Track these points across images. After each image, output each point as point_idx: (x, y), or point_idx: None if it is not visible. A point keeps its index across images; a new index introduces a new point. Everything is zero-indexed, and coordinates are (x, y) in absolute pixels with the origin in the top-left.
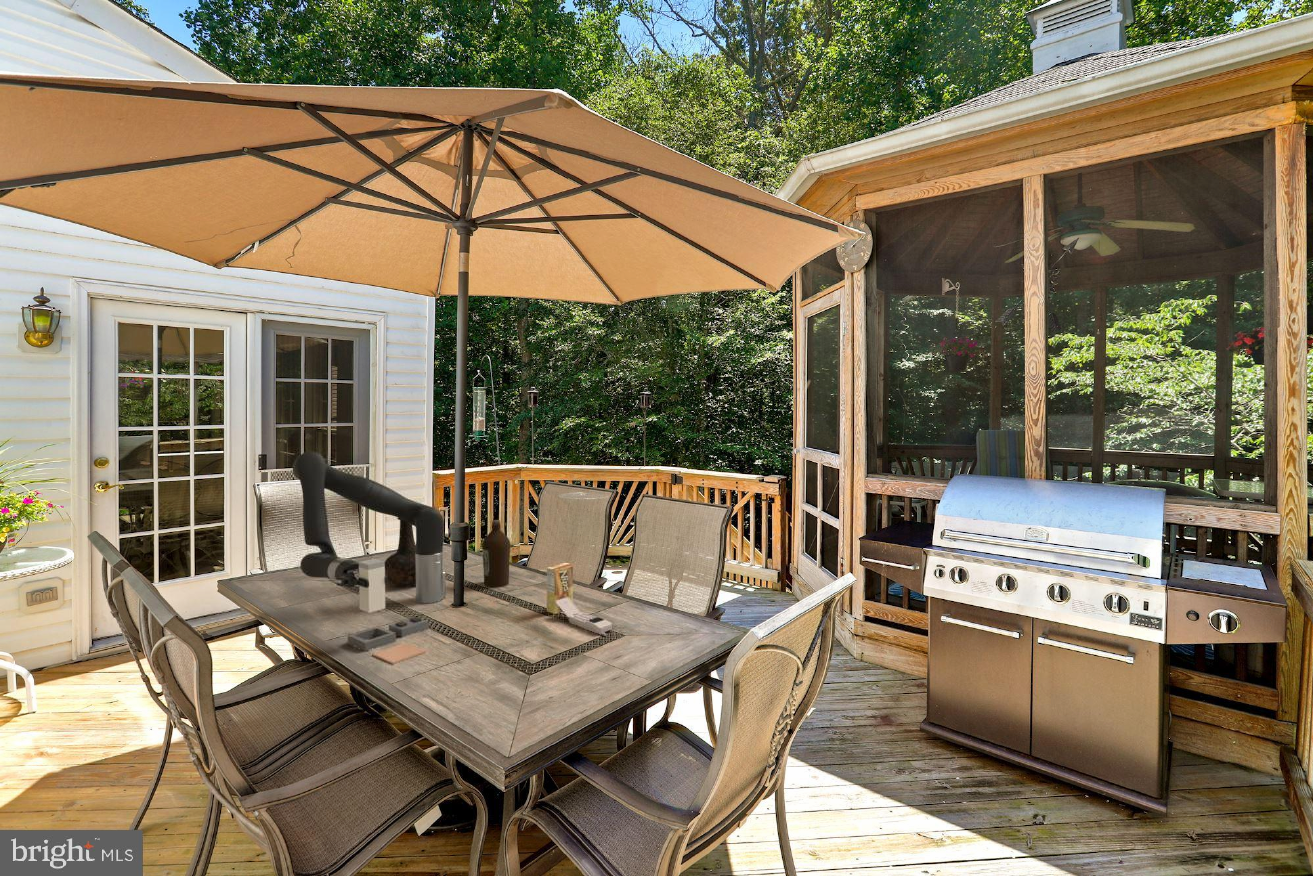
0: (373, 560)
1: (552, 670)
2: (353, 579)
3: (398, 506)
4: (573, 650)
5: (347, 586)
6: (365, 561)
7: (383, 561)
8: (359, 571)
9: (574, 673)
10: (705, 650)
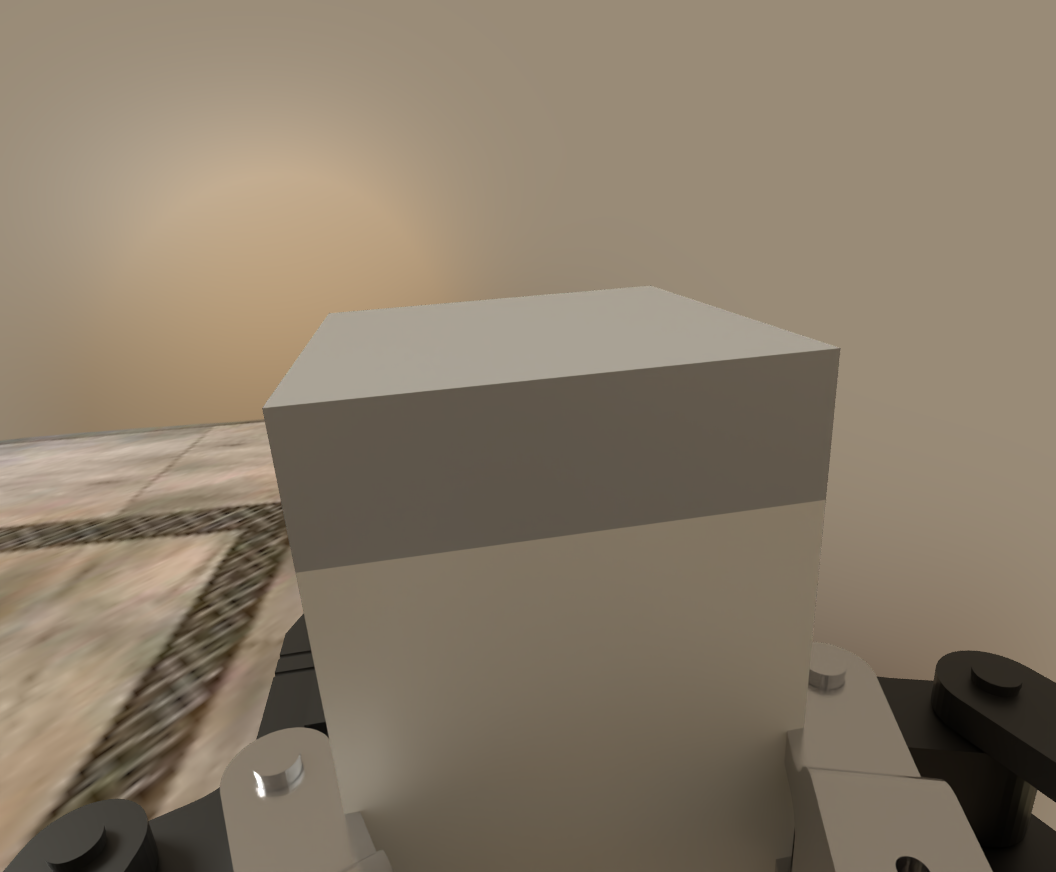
0: (439, 347)
1: (260, 494)
2: (935, 742)
3: None
4: (94, 535)
5: (1053, 851)
6: (646, 343)
7: (347, 313)
8: (802, 593)
9: (250, 474)
10: (4, 446)
